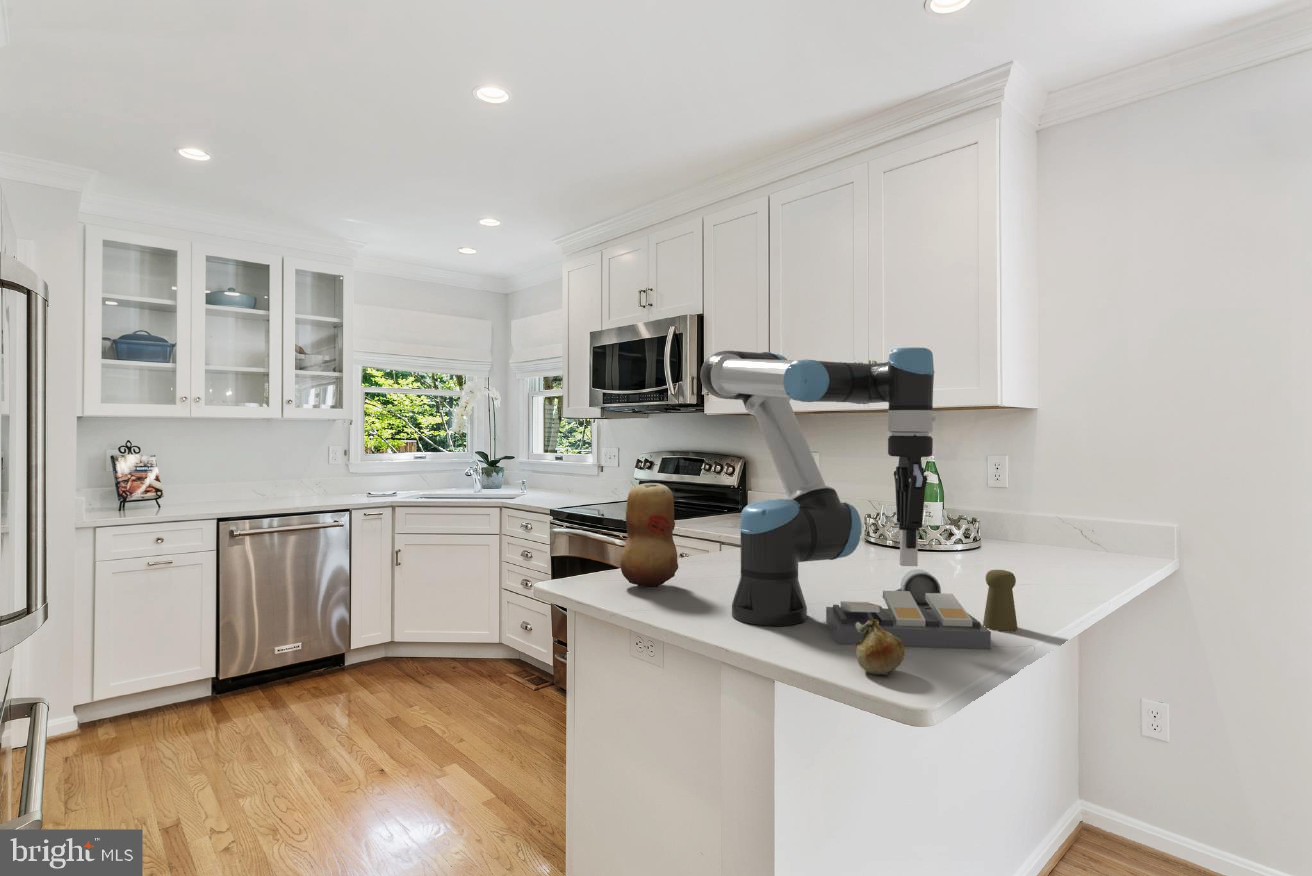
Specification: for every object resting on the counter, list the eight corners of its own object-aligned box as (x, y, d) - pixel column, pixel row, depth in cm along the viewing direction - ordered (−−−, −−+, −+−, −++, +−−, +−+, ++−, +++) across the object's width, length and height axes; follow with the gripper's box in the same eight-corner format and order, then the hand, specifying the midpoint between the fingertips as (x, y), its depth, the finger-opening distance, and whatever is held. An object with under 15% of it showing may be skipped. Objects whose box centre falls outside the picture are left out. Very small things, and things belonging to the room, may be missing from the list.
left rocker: (850, 611, 122) (850, 604, 123) (840, 607, 133) (840, 600, 133) (879, 612, 122) (879, 605, 122) (866, 608, 133) (866, 601, 133)
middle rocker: (896, 625, 122) (896, 619, 122) (882, 596, 133) (882, 590, 132) (925, 626, 122) (925, 620, 121) (909, 596, 132) (909, 590, 132)
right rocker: (942, 625, 121) (943, 618, 121) (925, 598, 132) (925, 592, 132) (972, 626, 121) (972, 619, 120) (951, 599, 131) (952, 593, 131)
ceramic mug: (934, 600, 153) (933, 566, 153) (941, 610, 145) (941, 573, 145) (884, 598, 155) (884, 565, 155) (888, 608, 147) (888, 572, 147)
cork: (1004, 633, 128) (1004, 575, 128) (975, 625, 133) (976, 569, 133) (1024, 629, 131) (1025, 571, 131) (996, 621, 136) (996, 566, 136)
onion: (851, 678, 105) (852, 626, 104) (855, 662, 112) (855, 613, 112) (904, 685, 102) (904, 631, 102) (904, 667, 109) (905, 617, 109)
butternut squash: (631, 595, 156) (631, 486, 156) (613, 583, 169) (614, 482, 168) (686, 591, 161) (687, 485, 161) (666, 579, 174) (666, 481, 173)
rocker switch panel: (837, 644, 121) (838, 621, 121) (826, 621, 135) (826, 601, 135) (990, 648, 119) (990, 626, 119) (962, 626, 133) (962, 605, 133)
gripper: (943, 435, 116) (941, 573, 116) (921, 434, 129) (919, 558, 129) (897, 434, 116) (896, 572, 117) (880, 433, 129) (879, 557, 130)
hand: (908, 565), depth 123 cm, fingers closed
